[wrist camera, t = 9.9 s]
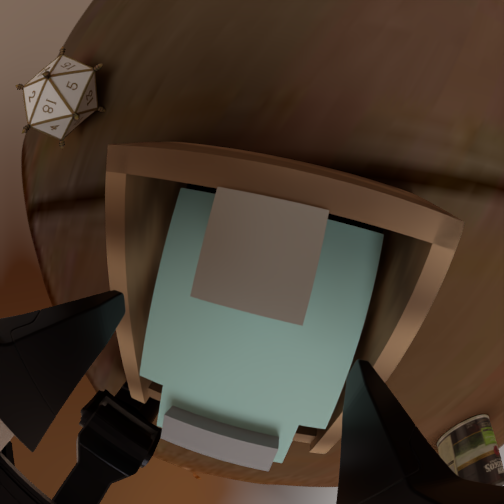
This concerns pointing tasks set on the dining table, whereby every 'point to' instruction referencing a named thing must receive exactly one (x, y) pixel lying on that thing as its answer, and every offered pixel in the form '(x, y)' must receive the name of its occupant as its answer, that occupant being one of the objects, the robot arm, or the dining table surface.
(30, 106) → the game die
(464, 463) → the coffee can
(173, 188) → the box frame
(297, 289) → the grey block
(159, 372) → the trapdoor
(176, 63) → the dining table surface
